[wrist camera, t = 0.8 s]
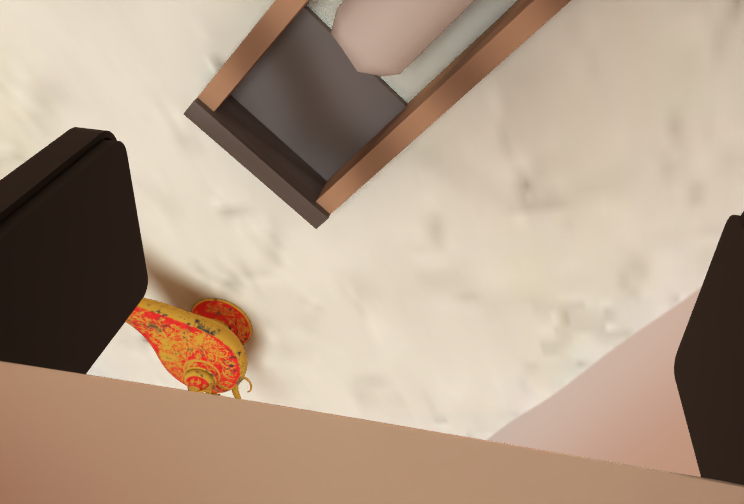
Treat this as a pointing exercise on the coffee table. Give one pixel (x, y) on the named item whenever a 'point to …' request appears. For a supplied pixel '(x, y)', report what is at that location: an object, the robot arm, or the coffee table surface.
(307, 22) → the trap channel
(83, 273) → the robot arm
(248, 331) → the magic lamp
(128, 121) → the coffee table surface
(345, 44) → the tube
